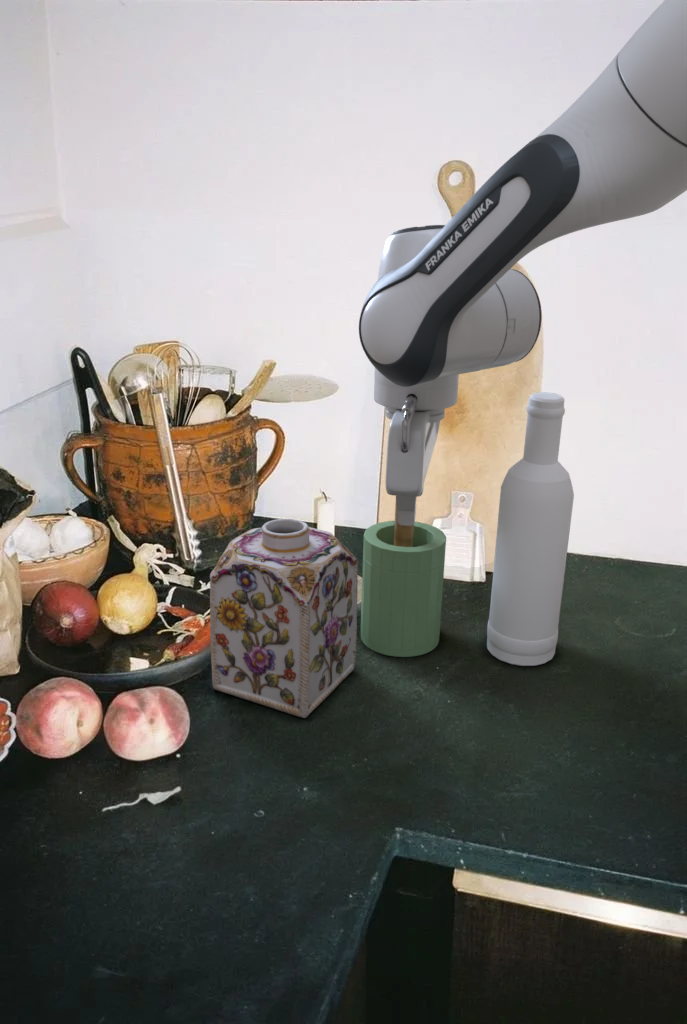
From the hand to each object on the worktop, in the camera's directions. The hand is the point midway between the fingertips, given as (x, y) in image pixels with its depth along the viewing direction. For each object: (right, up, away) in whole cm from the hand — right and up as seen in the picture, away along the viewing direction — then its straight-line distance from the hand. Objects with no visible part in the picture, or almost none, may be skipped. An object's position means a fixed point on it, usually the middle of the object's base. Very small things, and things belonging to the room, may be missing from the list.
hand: (410, 508), depth 103 cm
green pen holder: (-1, -15, +7) cm, 17 cm away
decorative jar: (-14, -19, -3) cm, 23 cm away
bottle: (+13, -16, +5) cm, 21 cm away
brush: (-1, -14, +6) cm, 16 cm away
